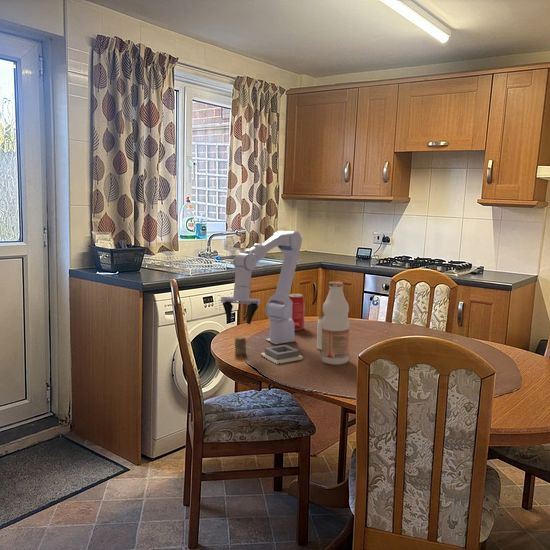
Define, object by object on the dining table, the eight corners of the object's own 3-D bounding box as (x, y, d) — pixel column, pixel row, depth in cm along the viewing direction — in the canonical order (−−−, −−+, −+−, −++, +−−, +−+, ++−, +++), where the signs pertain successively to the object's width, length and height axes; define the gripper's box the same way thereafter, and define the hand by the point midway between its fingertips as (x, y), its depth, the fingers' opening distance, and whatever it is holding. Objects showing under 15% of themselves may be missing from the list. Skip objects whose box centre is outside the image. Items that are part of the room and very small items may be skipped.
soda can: (284, 330, 231) (284, 296, 228) (288, 326, 238) (289, 292, 236) (301, 331, 228) (302, 297, 226) (306, 327, 236) (306, 293, 233)
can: (314, 347, 205) (314, 316, 204) (329, 345, 208) (329, 315, 206) (322, 352, 199) (322, 320, 198) (337, 349, 202) (337, 318, 200)
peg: (243, 352, 200) (242, 336, 199) (247, 354, 196) (247, 338, 195) (233, 353, 198) (233, 337, 197) (238, 356, 194) (237, 340, 193)
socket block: (286, 351, 200) (286, 343, 200) (302, 359, 191) (303, 351, 190) (260, 355, 195) (260, 347, 194) (276, 364, 185) (276, 355, 185)
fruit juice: (316, 362, 188) (317, 283, 183) (329, 355, 195) (331, 279, 191) (340, 367, 182) (341, 285, 178) (353, 360, 190) (354, 281, 186)
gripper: (226, 285, 189) (222, 324, 189) (264, 288, 194) (261, 325, 195) (220, 284, 195) (217, 321, 196) (257, 286, 201) (254, 322, 201)
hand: (238, 323), depth 196 cm, fingers open, 7 cm apart
